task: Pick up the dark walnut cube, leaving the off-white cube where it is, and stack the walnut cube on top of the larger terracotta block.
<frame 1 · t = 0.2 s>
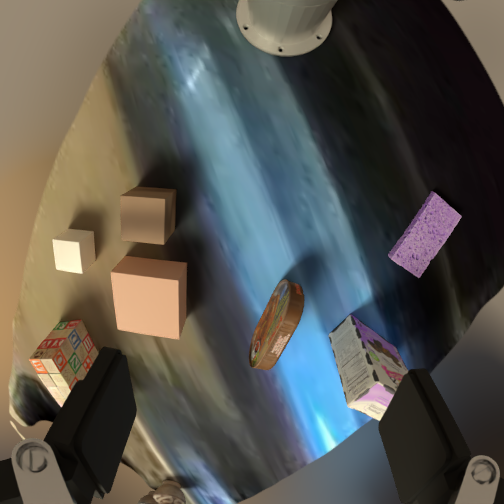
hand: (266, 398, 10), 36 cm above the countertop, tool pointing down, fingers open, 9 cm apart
walnut cube: (155, 208, 45), on the countertop
pottery: (163, 489, 79), on the countertop
stack of blocks: (93, 362, 57), on the countertop
terracotta block: (156, 287, 50), on the countertop
sponges: (422, 232, 46), on the countertop
candy box: (363, 341, 53), on the countertop
off-white cube: (82, 244, 47), on the countertop
tin: (273, 311, 51), on the countertop
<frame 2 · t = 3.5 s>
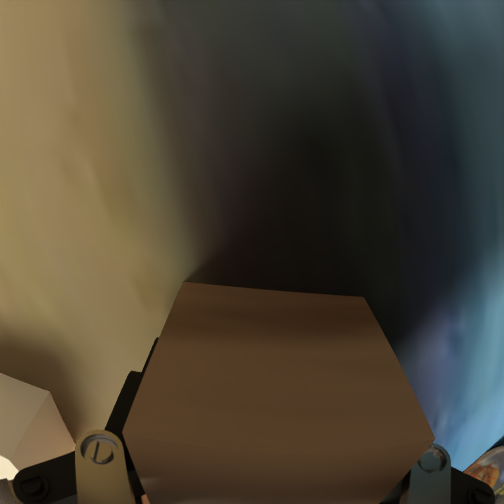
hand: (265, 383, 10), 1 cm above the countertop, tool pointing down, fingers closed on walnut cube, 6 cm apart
walnut cube: (265, 360, 11), on the countertop, touching gripper
off-white cube: (30, 407, 14), on the countertop
tin: (459, 477, 18), on the countertop
when the fingers open (8 cm above the countertop, at t = 10.0 s): walnut cube drops 1 cm, resting on terracotta block.
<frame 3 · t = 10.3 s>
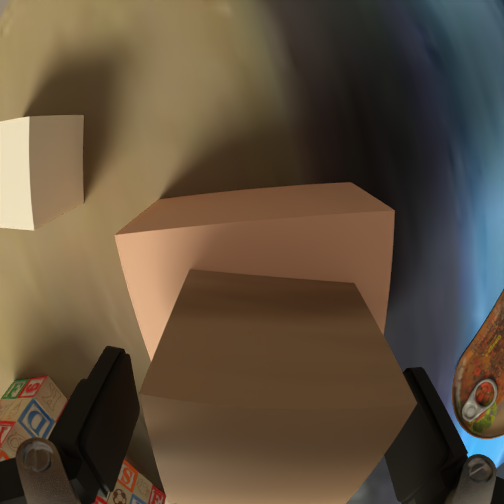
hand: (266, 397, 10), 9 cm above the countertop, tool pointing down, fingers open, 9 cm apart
walnut cube: (264, 343, 13), point 6 cm above the countertop, touching terracotta block
stack of blocks: (94, 446, 26), on the countertop
terracotta block: (262, 276, 18), on the countertop, touching walnut cube
off-white cube: (49, 160, 15), on the countertop
tin: (497, 315, 19), on the countertop
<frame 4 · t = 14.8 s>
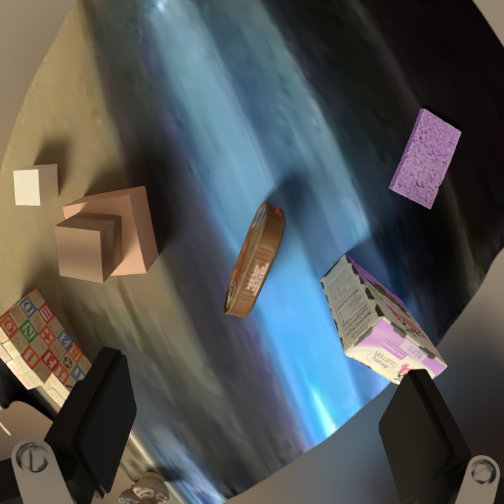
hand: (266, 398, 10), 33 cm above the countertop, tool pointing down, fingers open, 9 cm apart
walnut cube: (100, 236, 37), point 6 cm above the countertop, touching terracotta block
pottery: (146, 482, 71), on the countertop
stack of blocks: (60, 338, 51), on the countertop
terracotta block: (120, 225, 43), on the countertop, touching walnut cube
sponges: (422, 157, 39), on the countertop
candy box: (363, 291, 46), on the countertop
off-white cube: (45, 180, 40), on the countertop
tin: (253, 249, 44), on the countertop
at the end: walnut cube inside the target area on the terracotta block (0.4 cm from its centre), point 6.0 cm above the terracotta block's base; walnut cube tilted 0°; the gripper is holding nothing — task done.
